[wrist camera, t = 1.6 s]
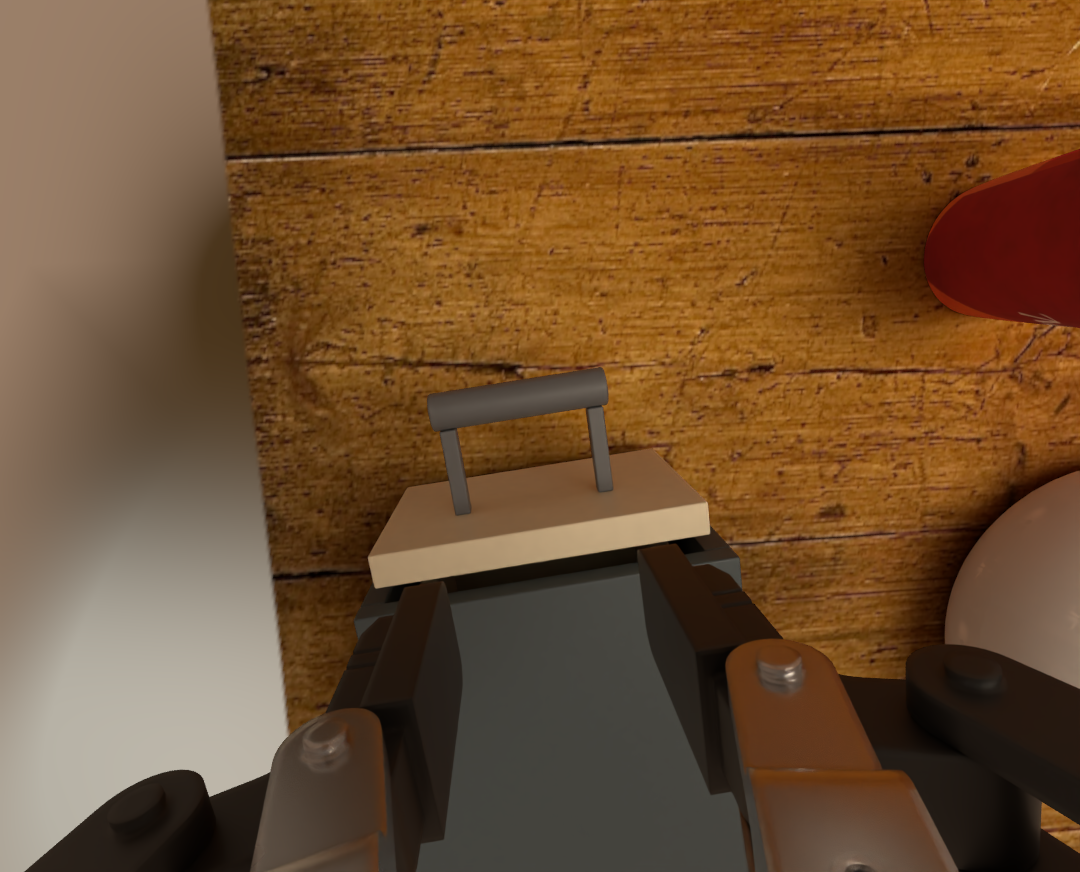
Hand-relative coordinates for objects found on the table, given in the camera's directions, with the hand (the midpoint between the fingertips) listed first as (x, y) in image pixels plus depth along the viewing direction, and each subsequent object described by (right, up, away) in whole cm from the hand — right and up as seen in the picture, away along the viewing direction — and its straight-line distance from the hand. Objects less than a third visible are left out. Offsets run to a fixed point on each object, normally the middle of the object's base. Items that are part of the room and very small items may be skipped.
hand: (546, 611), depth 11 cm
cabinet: (+1, -7, +19) cm, 20 cm away
